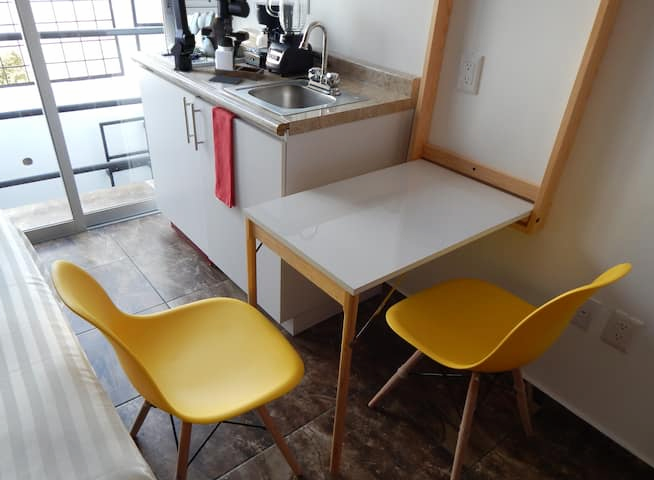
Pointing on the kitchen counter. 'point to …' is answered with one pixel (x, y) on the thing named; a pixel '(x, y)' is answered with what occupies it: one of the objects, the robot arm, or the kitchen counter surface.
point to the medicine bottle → (225, 54)
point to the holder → (242, 72)
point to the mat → (226, 79)
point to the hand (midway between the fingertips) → (225, 56)
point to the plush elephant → (196, 25)
